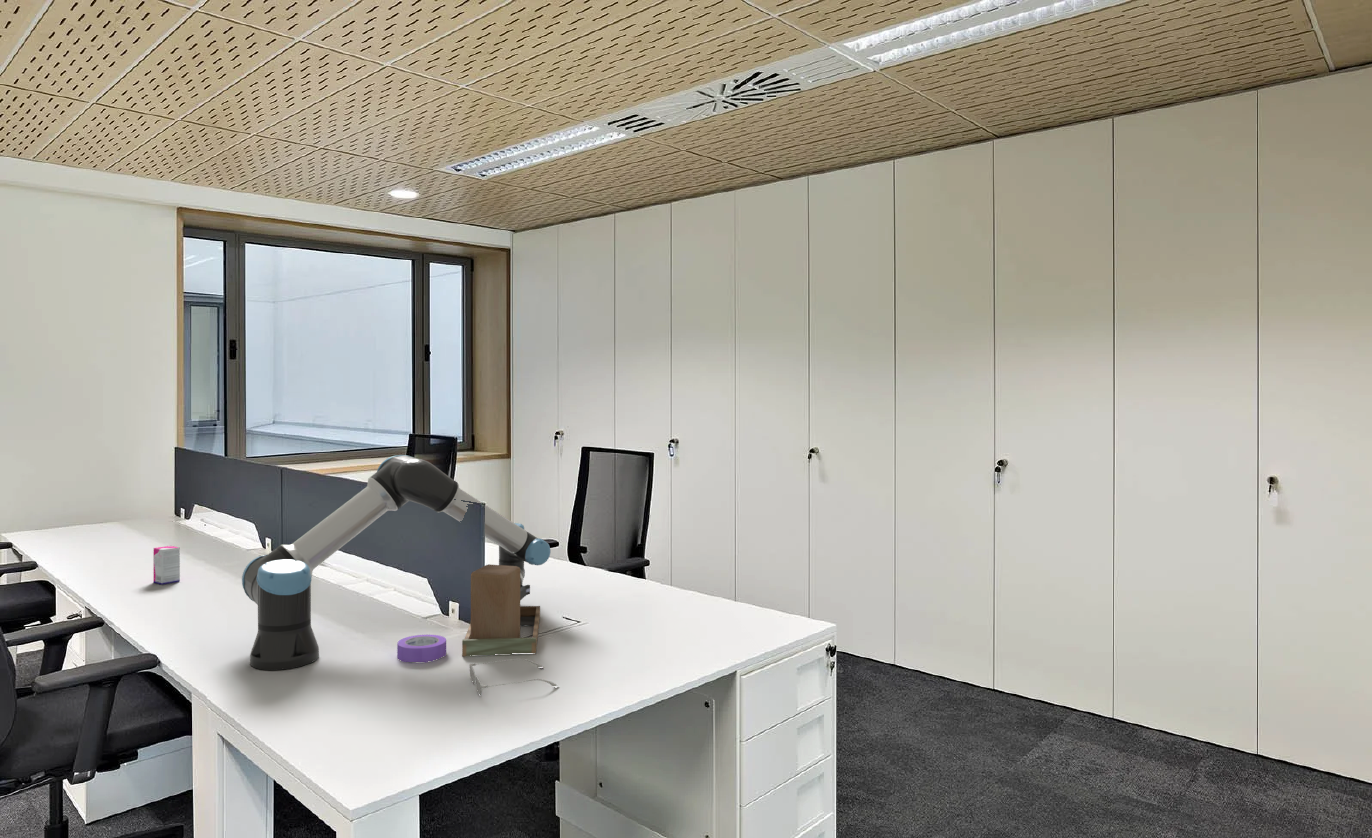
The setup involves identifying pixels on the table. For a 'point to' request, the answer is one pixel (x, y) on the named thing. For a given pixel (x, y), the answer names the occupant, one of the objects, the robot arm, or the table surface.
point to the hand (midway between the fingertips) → (503, 605)
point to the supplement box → (166, 565)
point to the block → (495, 602)
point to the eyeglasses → (479, 686)
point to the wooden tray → (506, 645)
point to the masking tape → (421, 648)
